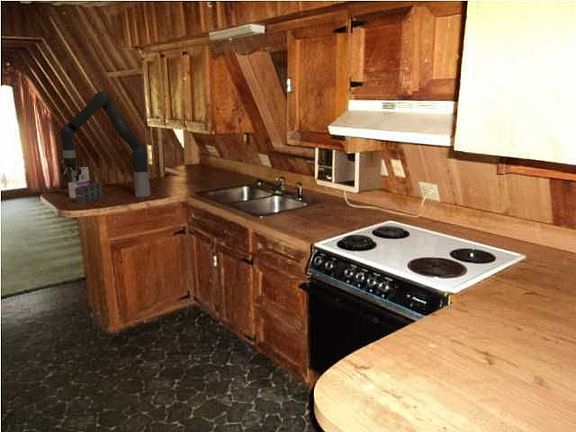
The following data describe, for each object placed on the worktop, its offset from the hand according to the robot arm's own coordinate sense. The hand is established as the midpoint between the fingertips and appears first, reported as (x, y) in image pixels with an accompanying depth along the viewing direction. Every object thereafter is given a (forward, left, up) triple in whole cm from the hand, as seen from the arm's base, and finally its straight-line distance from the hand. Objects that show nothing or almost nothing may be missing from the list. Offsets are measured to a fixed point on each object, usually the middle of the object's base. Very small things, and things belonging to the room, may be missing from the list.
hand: (71, 180), depth 307 cm
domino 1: (-11, +15, -12) cm, 22 cm away
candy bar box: (+4, -22, -12) cm, 25 cm away
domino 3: (-14, +3, -12) cm, 18 cm away
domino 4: (-16, -3, -12) cm, 20 cm away
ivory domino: (0, 0, -12) cm, 12 cm away
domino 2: (-13, +9, -12) cm, 19 cm away
